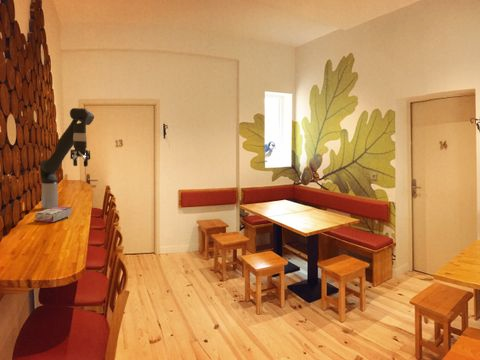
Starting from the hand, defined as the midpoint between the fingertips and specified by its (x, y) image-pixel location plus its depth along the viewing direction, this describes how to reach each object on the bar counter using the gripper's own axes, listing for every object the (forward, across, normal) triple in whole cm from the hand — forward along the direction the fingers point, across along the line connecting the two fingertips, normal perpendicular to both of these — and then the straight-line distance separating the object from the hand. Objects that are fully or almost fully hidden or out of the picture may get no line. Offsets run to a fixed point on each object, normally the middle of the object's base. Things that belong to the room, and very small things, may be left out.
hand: (80, 166), depth 215 cm
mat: (+30, -1, +22) cm, 38 cm away
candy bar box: (+26, 0, +14) cm, 30 cm away
